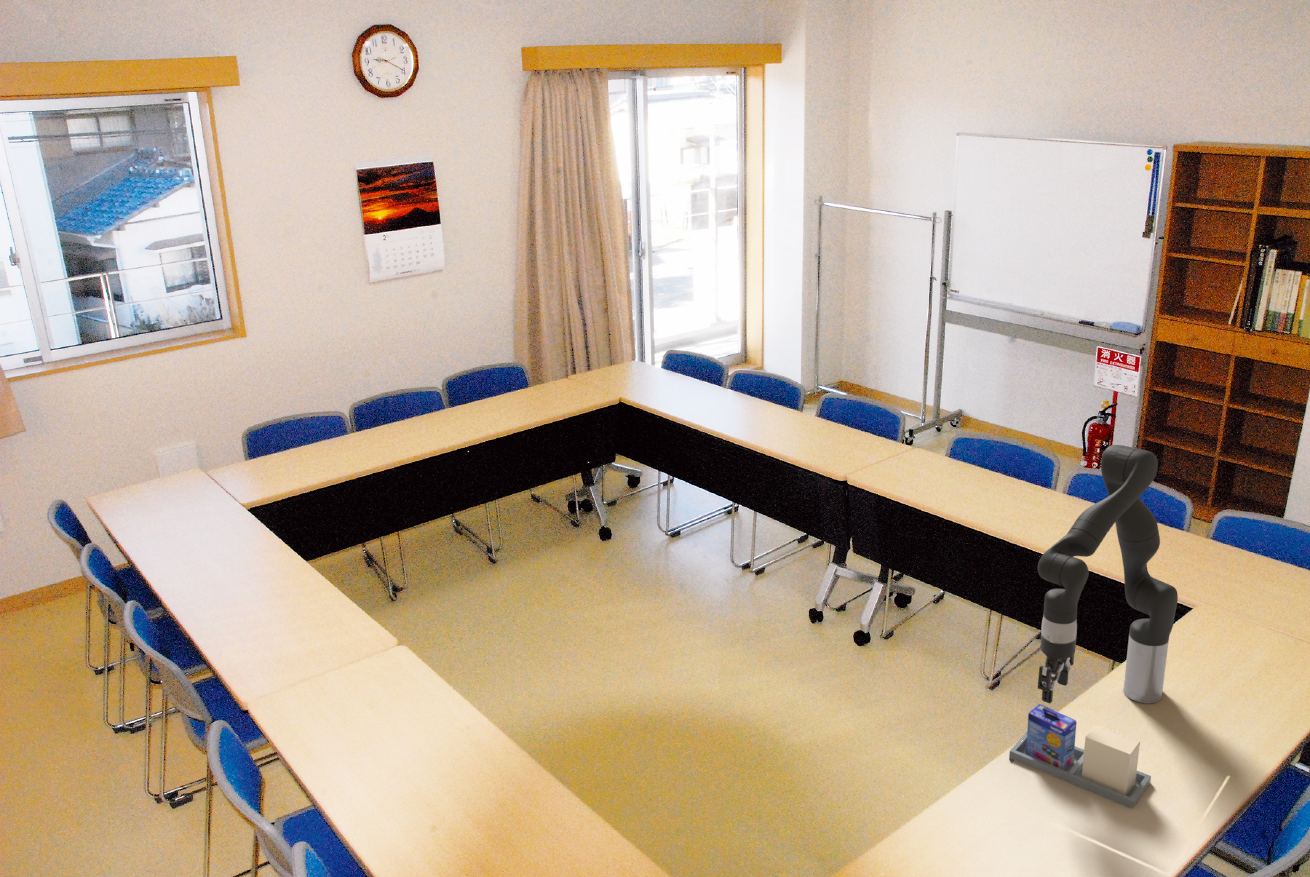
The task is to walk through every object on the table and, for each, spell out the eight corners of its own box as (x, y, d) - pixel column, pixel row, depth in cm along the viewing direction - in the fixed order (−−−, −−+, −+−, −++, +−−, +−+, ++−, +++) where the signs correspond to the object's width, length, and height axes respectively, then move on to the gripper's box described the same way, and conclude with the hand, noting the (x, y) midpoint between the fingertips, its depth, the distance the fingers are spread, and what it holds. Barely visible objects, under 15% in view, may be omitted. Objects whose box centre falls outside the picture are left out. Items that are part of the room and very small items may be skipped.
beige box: (1091, 766, 248) (1095, 724, 243) (1135, 783, 241) (1140, 740, 237) (1081, 779, 244) (1085, 737, 239) (1125, 797, 237) (1130, 754, 233)
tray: (1029, 736, 260) (1029, 728, 259) (1150, 784, 241) (1151, 775, 240) (1009, 759, 253) (1009, 750, 252) (1132, 810, 234) (1133, 801, 233)
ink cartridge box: (1024, 754, 253) (1027, 704, 248) (1036, 743, 257) (1040, 694, 252) (1061, 773, 246) (1066, 721, 241) (1074, 762, 249) (1078, 711, 244)
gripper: (1055, 615, 246) (1051, 673, 252) (1029, 641, 237) (1025, 701, 243) (1087, 624, 241) (1082, 683, 247) (1061, 652, 232) (1057, 713, 238)
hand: (1054, 692), depth 245 cm, fingers open, 8 cm apart
